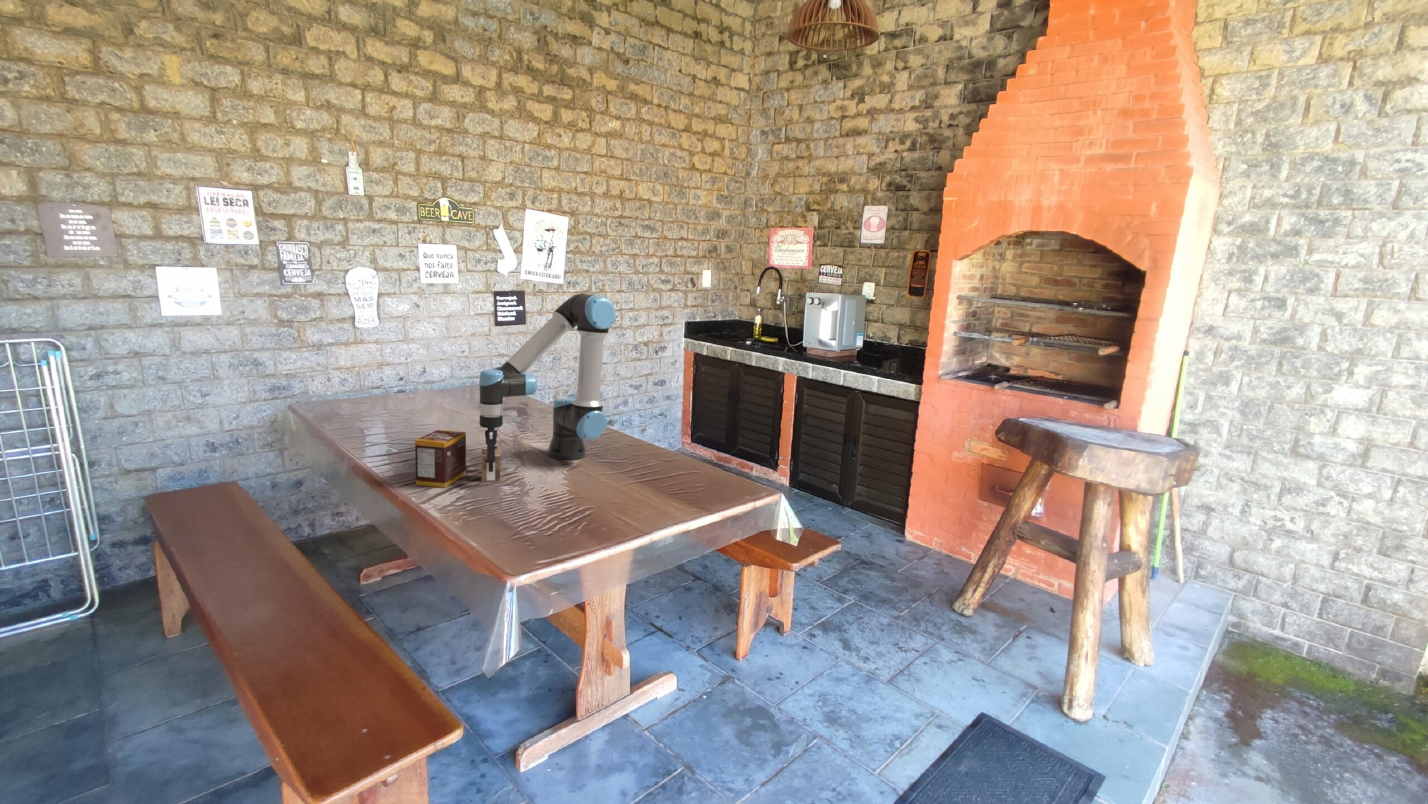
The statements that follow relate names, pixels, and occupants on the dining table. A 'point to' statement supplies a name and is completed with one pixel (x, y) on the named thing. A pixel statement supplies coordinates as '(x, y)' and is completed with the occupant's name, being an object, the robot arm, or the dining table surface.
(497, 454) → the walnut block
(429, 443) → the supplement box
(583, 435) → the robot arm
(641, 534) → the dining table surface
